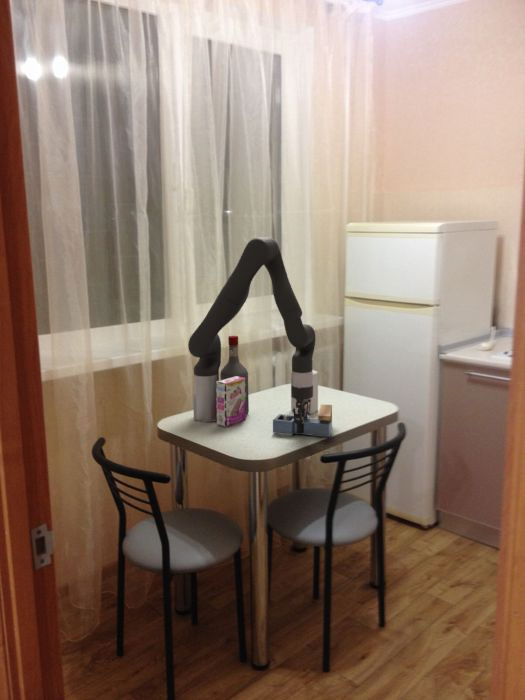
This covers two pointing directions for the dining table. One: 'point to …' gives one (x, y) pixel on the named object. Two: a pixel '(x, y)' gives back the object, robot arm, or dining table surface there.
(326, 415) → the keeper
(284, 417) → the cylinder
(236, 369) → the liquor
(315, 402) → the soap bottle
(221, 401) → the candy bar box
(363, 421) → the dining table surface
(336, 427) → the dining table surface
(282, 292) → the robot arm
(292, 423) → the link
